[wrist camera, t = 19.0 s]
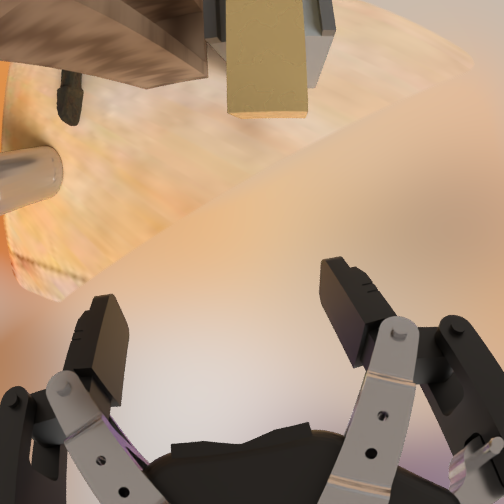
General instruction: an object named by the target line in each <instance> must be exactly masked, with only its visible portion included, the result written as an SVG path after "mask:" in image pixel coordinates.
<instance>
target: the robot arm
mask: <svg viewBox="0 0 504 504" xmlns="http://www.w3.org/2000/svg"><path fill="white" fill-rule="evenodd" d="M62 177H63V167H62V162H61V159H60V157H59V155H58V153H57V152H56V151H55V150H54V149H53V148H52V147H49V146H40V147H33V148H25V149H19V150H13V151H7V152H1V153H0V215H3V214H6V213H8V212H11V211H14V210H16V209H19V208H22V207H25V206H27V205H30V204H33V203H36V202H39V201H42V200H45V199H48V198H51V197H53V196H54V195H55V194H56V193H57V192H58V190H59V188H60V186H61V183H62ZM319 295H320V300H321V304H322V306H323V308H324V310H325V312H326V314H327V316H328V318H329V320H330V322H331V324H332V326H333V328H334V330H335V332H336V334H337V336H338V338H339V340H340V342H341V344H342V346H343V348H344V350H345V352H346V354H347V356H348V358H349V360H350V362H351V364H352V366H353V368H357V367H360V366H364V368H365V370H366V373H365V376H364V379H363V382H362V385H361V389H360V392H359V395H358V398H357V401H356V404H355V406H354V409H353V412H352V415H351V418H350V420H349V423H348V426H347V428H346V430H345V433H344V435H341V434H338V433H334V432H330V431H325V430H311V428H310V425H309V422H306V423H302V424H298V425H294V426H290V427H285V428H281V429H276V430H273V431H271V432H269V433H266V434H264V435H262V436H260V437H257V438H255V439H253V440H251V441H248V442H245V443H243V444H228V443H217V442H208V441H200V442H190V443H178V444H171V453H168V454H166V455H163V456H162V457H159V458H158V459H156V460H154V461H153V462H152V463H149V462H148V461H147V460H146V459H145V458H144V457H143V456H142V455H141V454H140V453H139V452H138V451H137V449H136V448H135V447H134V446H133V444H132V443H131V442H130V440H129V439H128V438H127V437H126V436H125V434H124V433H123V431H122V430H121V429H120V427H119V426H118V425H117V423H116V422H115V421H114V419H113V418H112V417H111V415H110V408H111V407H115V406H116V407H117V406H121V400H122V389H123V380H124V371H125V364H126V355H127V348H128V342H129V328H128V325H127V322H126V319H125V317H124V315H123V313H122V311H121V309H120V306H119V304H118V302H117V300H116V297H115V296H114V295H113V294H108V295H101V296H95V297H94V298H93V301H92V304H91V307H90V310H88V311H85V312H84V313H83V314H82V316H81V317H80V318H79V319H78V321H77V324H76V327H75V330H74V331H75V333H73V337H72V341H71V343H70V347H69V350H68V353H67V357H66V360H65V364H64V368H63V371H61V372H58V373H57V374H55V375H54V376H53V377H52V378H51V379H50V381H49V382H48V384H47V387H46V389H44V390H41V391H38V392H35V393H32V394H29V393H28V392H27V391H26V390H25V389H24V388H23V387H20V386H15V387H12V388H11V389H9V390H8V391H7V392H6V393H5V394H4V396H3V398H2V401H1V404H0V504H66V471H67V470H66V469H67V451H68V452H69V454H70V456H71V458H72V459H73V461H74V462H75V464H76V466H77V468H78V469H79V471H80V473H81V474H82V476H83V477H84V479H85V481H86V482H87V484H88V485H89V487H90V488H91V490H92V492H93V493H94V495H95V496H96V498H97V499H98V500H99V502H100V503H101V504H493V503H494V502H496V501H497V500H499V499H500V498H502V497H504V372H503V370H502V369H501V367H500V365H499V364H498V363H497V361H496V359H495V358H494V356H493V355H492V353H491V352H490V351H489V349H488V348H487V346H486V345H485V343H484V342H483V341H482V339H481V338H480V336H479V335H478V333H477V332H476V331H475V329H474V328H473V327H472V325H471V324H470V323H469V322H468V321H467V320H466V319H464V318H463V317H460V316H456V315H448V316H446V317H444V318H443V319H442V320H441V322H440V324H439V327H417V326H416V325H415V323H413V322H412V321H411V320H409V319H407V318H404V317H400V316H397V315H396V314H395V312H394V311H393V309H392V308H391V307H390V305H389V304H388V303H387V301H386V300H385V298H384V297H383V296H382V294H381V293H380V291H378V289H377V287H376V286H375V285H374V284H373V283H372V281H371V279H370V278H369V277H368V275H367V274H366V273H365V272H363V271H362V270H360V269H358V268H357V267H351V268H350V267H349V266H348V264H347V263H346V262H345V261H344V259H343V258H342V257H334V258H329V259H323V260H322V261H321V270H320V287H319ZM416 384H420V386H421V388H422V390H423V392H424V394H425V396H426V398H427V400H428V402H429V404H430V406H431V408H432V411H433V413H434V415H435V417H436V419H437V421H438V423H439V425H440V427H441V430H442V432H443V434H444V436H445V439H446V441H447V443H448V445H449V447H450V450H451V452H452V454H453V458H452V460H451V462H450V465H449V480H450V487H449V490H448V489H446V488H444V487H442V486H440V485H437V484H435V483H433V482H431V481H429V480H427V479H424V478H422V477H420V476H418V475H416V474H414V473H412V472H410V471H408V470H406V469H404V468H402V467H400V466H398V463H399V459H400V456H401V453H402V449H403V445H404V441H405V437H406V433H407V429H408V425H409V420H410V416H411V411H412V406H413V401H414V396H415V390H416ZM31 438H32V439H33V440H34V445H33V454H32V463H31V464H30V461H29V454H30V446H31Z"/></svg>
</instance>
